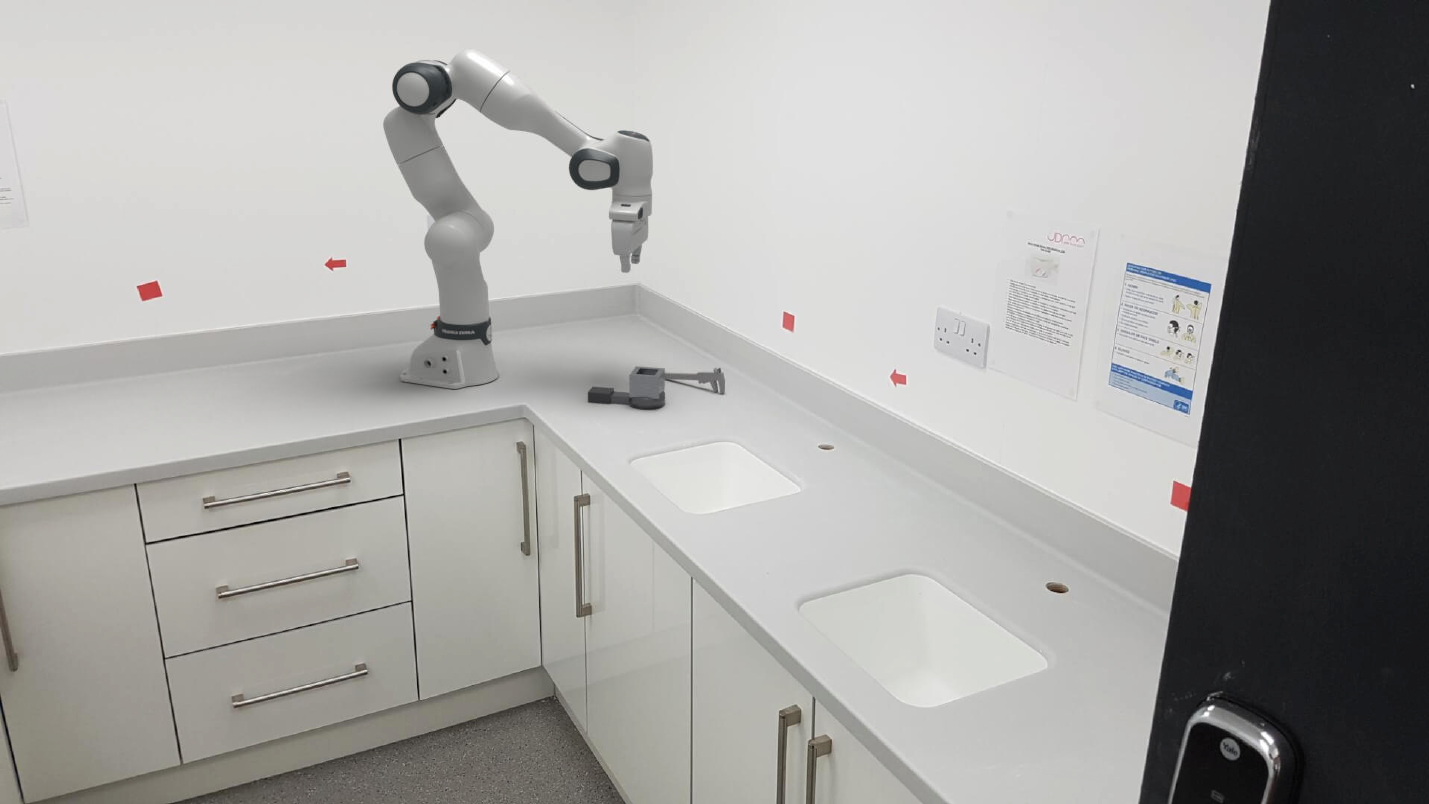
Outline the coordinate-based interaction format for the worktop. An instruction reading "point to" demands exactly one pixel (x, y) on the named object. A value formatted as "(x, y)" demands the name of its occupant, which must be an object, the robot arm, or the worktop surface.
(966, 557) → the worktop surface
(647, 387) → the grey metal block
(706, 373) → the caliper
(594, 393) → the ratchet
